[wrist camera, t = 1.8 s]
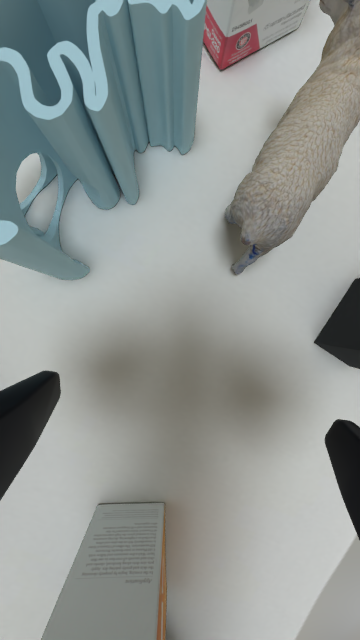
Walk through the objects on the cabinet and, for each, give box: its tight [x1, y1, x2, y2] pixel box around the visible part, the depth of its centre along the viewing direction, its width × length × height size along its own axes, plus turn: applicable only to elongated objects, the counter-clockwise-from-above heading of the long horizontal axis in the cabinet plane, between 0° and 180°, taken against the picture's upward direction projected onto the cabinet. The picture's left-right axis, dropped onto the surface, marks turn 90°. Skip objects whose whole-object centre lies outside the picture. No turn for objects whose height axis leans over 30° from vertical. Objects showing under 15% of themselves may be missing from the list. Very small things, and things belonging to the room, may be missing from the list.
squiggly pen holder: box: [0, 0, 207, 280], centre depth 16 cm, size 18×10×9 cm, turn 147°
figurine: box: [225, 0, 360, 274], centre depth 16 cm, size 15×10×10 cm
